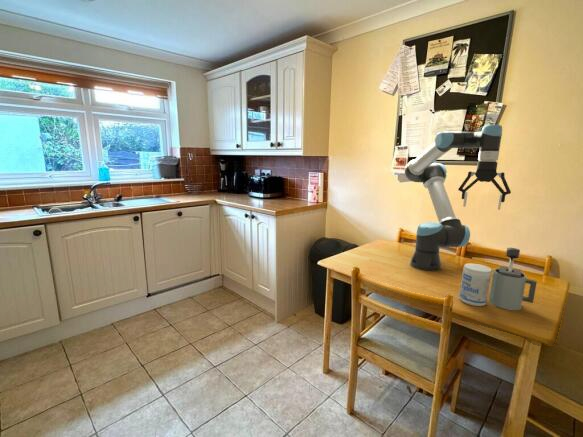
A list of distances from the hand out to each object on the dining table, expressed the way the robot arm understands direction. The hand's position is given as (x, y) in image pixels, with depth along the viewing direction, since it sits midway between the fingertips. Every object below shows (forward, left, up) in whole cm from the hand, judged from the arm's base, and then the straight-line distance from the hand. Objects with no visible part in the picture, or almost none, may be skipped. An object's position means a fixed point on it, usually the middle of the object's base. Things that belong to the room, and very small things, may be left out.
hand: (481, 207), depth 137 cm
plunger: (+14, -22, -32) cm, 42 cm away
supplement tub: (+4, -28, -35) cm, 45 cm away
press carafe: (+16, -22, -35) cm, 44 cm away
